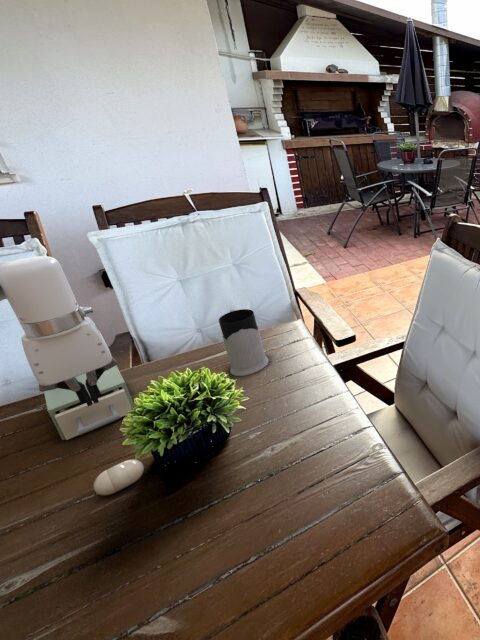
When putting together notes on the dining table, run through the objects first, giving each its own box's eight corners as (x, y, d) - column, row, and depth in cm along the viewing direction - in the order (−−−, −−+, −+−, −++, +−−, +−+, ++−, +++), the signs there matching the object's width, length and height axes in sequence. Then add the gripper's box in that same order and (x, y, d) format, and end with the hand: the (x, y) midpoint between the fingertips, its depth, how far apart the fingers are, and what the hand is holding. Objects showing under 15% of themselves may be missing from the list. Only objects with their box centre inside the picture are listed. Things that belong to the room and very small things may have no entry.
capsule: (100, 506, 69) (91, 487, 67) (96, 491, 71) (87, 473, 70) (149, 480, 74) (142, 462, 72) (144, 467, 76) (136, 449, 75)
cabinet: (136, 409, 91) (124, 382, 88) (62, 440, 83) (47, 410, 80) (123, 385, 99) (113, 359, 96) (55, 411, 91) (42, 383, 88)
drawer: (139, 424, 85) (130, 402, 83) (69, 455, 78) (58, 432, 76) (122, 388, 96) (113, 368, 94) (59, 412, 89) (49, 391, 87)
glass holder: (233, 380, 101) (218, 328, 96) (224, 356, 111) (209, 308, 105) (272, 366, 106) (259, 316, 101) (259, 344, 116) (248, 298, 111)
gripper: (105, 301, 82) (137, 375, 88) (-10, 332, 71) (36, 414, 77) (112, 312, 77) (144, 389, 84) (-9, 347, 66) (39, 432, 73)
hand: (92, 401), depth 80 cm, fingers closed
